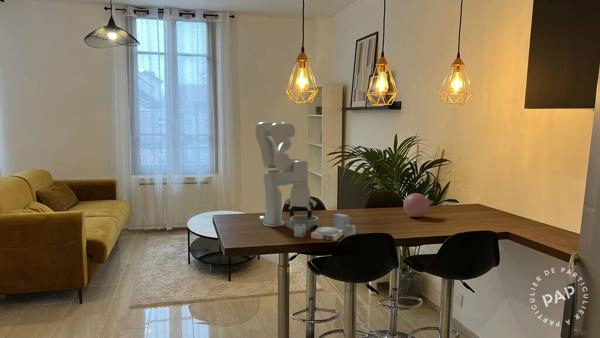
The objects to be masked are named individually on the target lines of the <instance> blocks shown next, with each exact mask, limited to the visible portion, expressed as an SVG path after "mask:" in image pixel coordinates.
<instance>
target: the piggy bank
mask: <svg viewBox="0 0 600 338" xmlns="http://www.w3.org/2000/svg"><path fill="white" fill-rule="evenodd" d="M432 204H434V201H433V200H430V199H429V198H426V196H424V194H421V193H418V192H414V193H410V194H409V195H407V196H406V197H405V199H404V201H403V205H402V206H403V210H404V212H405V213H406V215H408V216H409V217H411V218H415V217H418V218H421V217H423V216H425V215H426V214H427V212H428V210H429V208H430V207H429V206H431V205H432Z"/></svg>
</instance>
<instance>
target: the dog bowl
mask: <svg viewBox="0 0 600 338" xmlns="http://www.w3.org/2000/svg"><path fill="white" fill-rule="evenodd" d="M296 224H304V225H306V231H310V230H311V229H312V228H316V226H317V228H320V227H321V224H320V218H319V216H314V215H312V216H311V218H308V214H304V215H303V214H301V215H300V214H299V215H294V216H292V217H290V218H289V224H288V228H289V229H292V230H294V226H295V225H296Z"/></svg>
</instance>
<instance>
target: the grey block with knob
mask: <svg viewBox="0 0 600 338" xmlns="http://www.w3.org/2000/svg"><path fill="white" fill-rule="evenodd" d="M306 231H307V230H306V225H304V224H296V225H295V226H294V229H293V236H294V238H299V237H300V238H301V239H303V238H304V237H306Z"/></svg>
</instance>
